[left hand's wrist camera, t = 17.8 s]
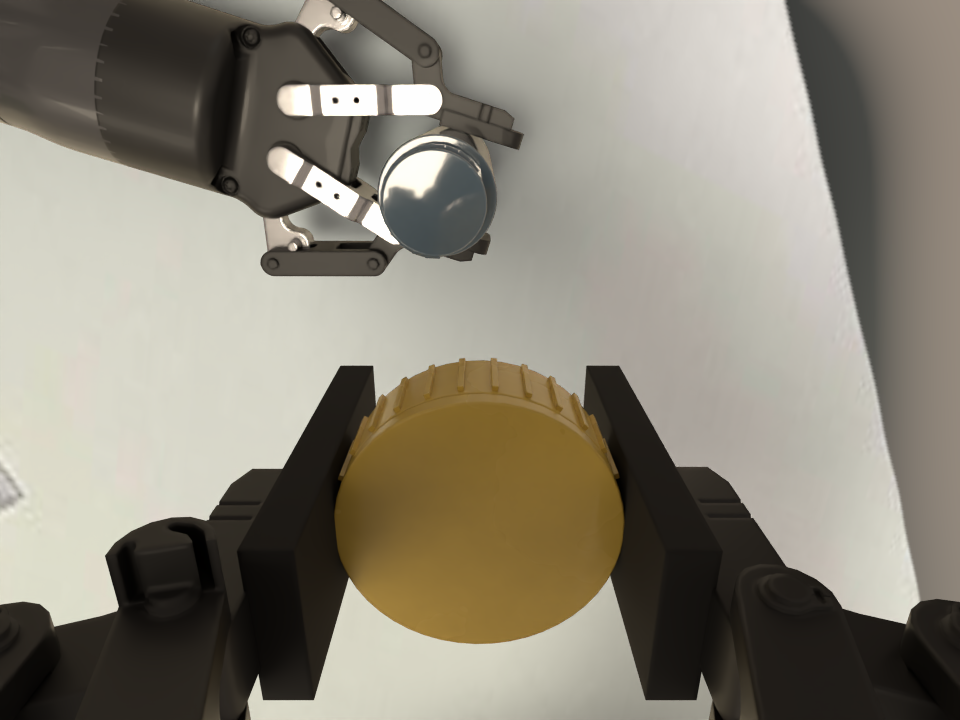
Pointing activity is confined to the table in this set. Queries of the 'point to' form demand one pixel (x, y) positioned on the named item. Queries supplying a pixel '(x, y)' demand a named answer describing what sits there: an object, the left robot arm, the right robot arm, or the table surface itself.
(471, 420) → the lid
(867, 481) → the table surface
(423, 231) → the blue-grey cylindrical container
